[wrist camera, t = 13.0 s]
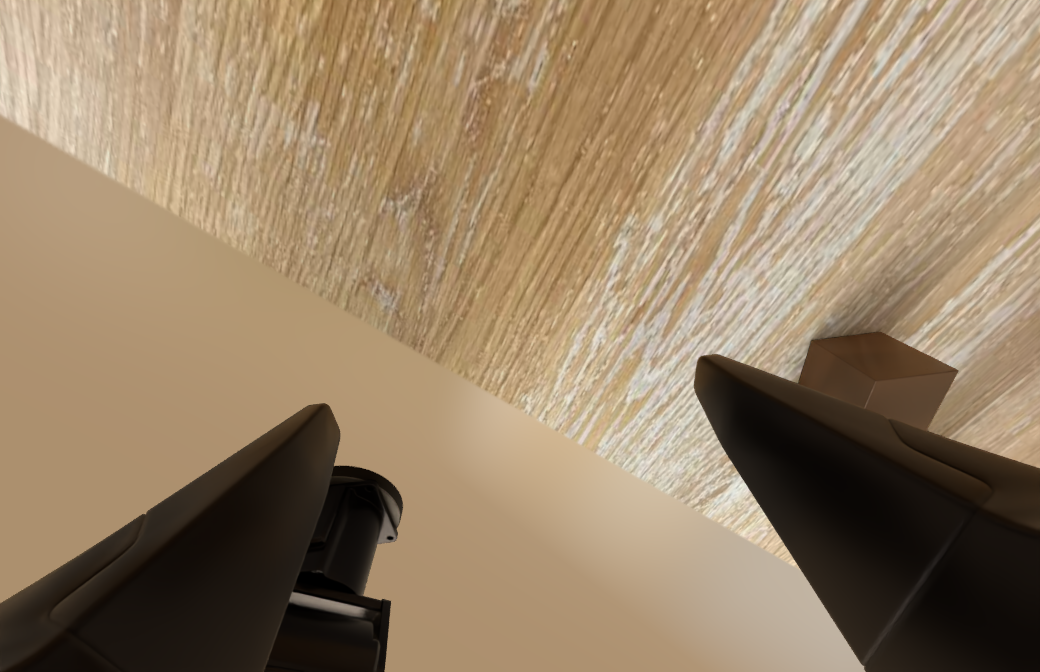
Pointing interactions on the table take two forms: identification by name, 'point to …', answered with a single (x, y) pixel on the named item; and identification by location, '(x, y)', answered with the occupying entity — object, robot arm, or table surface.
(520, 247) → the table surface
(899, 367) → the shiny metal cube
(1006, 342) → the table surface
